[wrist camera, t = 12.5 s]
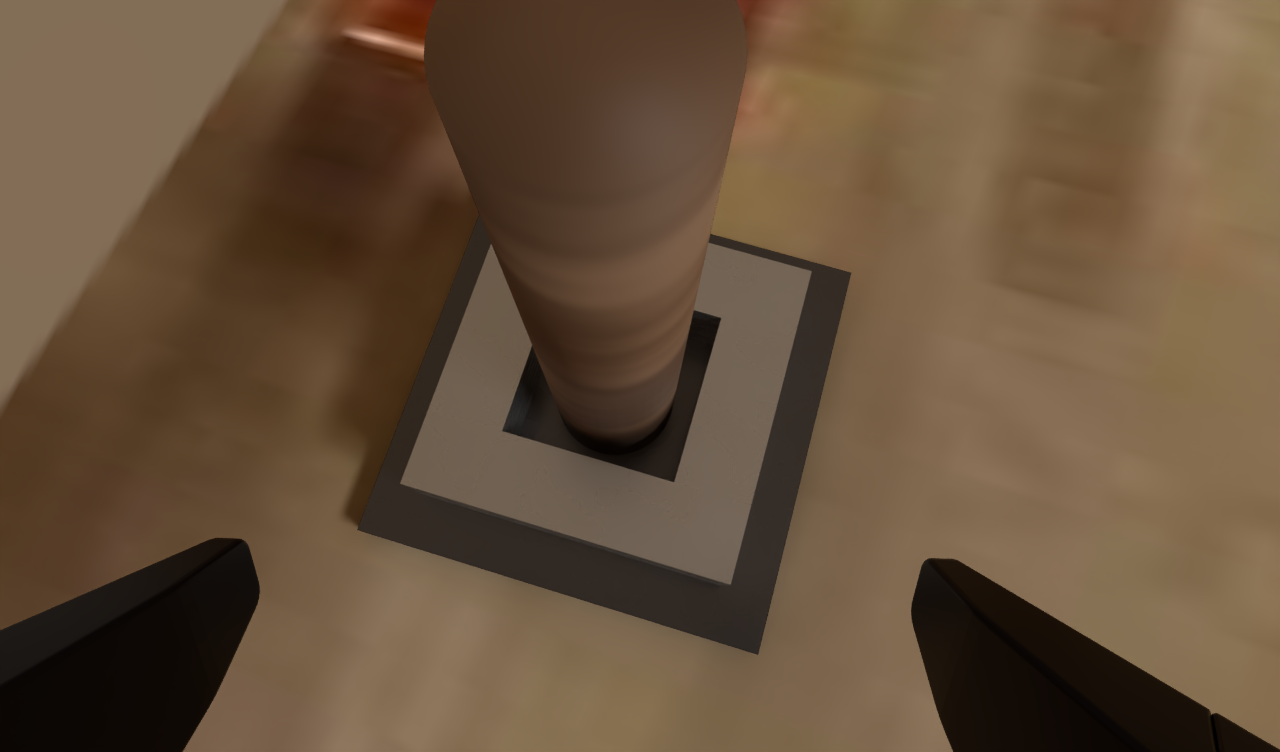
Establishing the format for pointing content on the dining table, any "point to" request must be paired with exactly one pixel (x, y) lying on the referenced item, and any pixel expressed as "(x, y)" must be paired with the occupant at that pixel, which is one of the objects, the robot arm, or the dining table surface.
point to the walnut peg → (595, 181)
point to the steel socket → (627, 483)
